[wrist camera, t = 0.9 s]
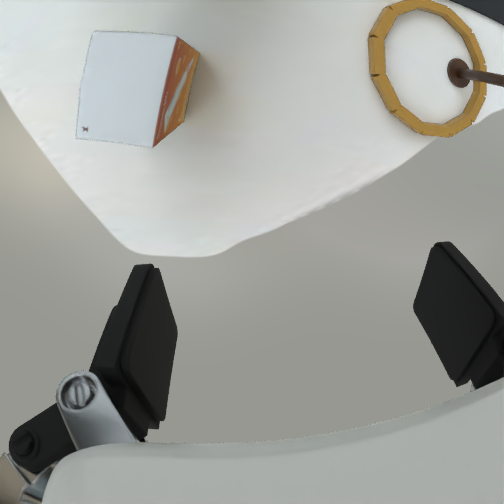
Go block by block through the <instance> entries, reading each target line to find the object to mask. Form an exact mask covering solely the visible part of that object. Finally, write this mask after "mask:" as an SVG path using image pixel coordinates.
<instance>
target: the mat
mask: <svg viewBox="0 0 504 504" xmlns="http://www.w3.org/2000/svg"><path fill="white" fill-rule="evenodd" d="M450 1H453V2H455V3H458V4H460V5H463V6H465V7H467V8H470V9H472V10H474V11H476V12H478V13H481V14H483V15H485V16H487V17H489V18H491V19H493V20H495V21H497V22H499V23H500V24H502V25H504V0H450Z"/></svg>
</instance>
